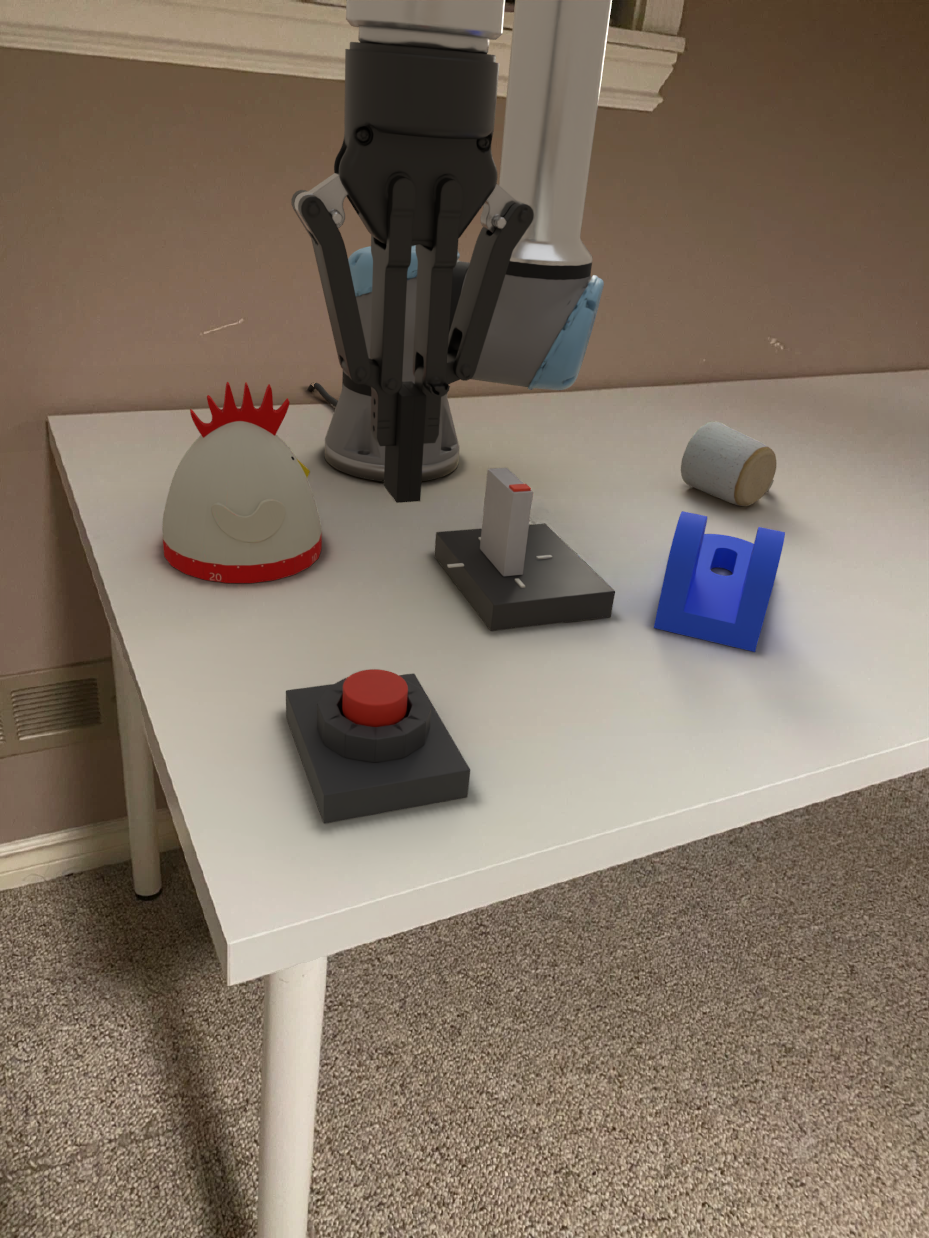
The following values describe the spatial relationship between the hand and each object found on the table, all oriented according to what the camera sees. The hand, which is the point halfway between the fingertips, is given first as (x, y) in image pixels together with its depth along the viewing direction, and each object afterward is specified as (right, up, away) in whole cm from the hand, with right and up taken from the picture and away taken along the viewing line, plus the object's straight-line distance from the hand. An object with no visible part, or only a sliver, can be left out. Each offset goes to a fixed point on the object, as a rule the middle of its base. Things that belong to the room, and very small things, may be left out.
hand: (401, 493), depth 58 cm
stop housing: (-2, -16, +3) cm, 17 cm away
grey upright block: (+7, -3, +24) cm, 25 cm away
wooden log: (+34, +6, +50) cm, 61 cm away
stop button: (-2, -13, +1) cm, 14 cm away
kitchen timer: (-16, -1, +28) cm, 32 cm away
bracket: (+26, -6, +28) cm, 39 cm away
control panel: (+9, -5, +26) cm, 28 cm away
